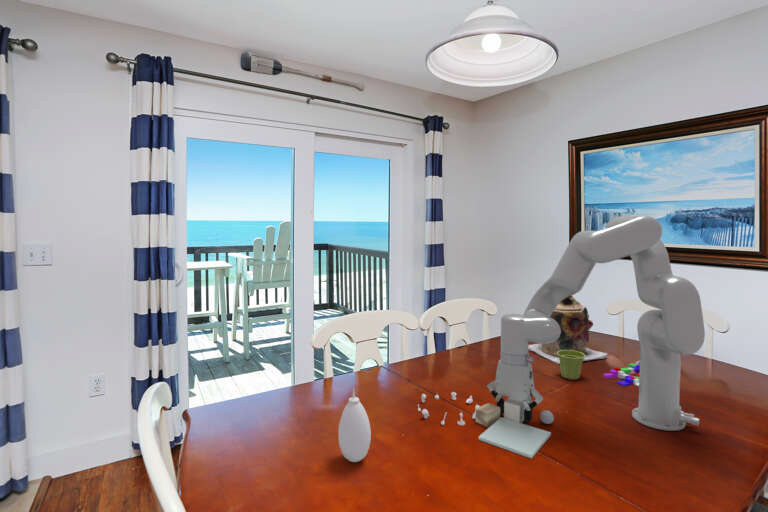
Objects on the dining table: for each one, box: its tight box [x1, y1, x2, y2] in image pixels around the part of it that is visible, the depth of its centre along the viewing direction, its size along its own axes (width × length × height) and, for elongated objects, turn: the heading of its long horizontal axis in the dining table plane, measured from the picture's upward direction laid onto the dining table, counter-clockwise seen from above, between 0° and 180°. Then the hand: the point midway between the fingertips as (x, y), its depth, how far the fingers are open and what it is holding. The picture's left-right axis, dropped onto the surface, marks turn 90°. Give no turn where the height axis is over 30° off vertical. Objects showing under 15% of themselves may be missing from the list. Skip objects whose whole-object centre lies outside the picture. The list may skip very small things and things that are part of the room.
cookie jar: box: [528, 295, 608, 365], centre depth 175 cm, size 25×25×32 cm
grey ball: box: [539, 409, 555, 425], centre depth 115 cm, size 4×4×4 cm
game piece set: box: [417, 391, 481, 426], centre depth 124 cm, size 19×20×4 cm
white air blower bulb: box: [337, 387, 372, 463], centre depth 98 cm, size 8×8×18 cm
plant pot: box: [557, 350, 585, 380], centre depth 149 cm, size 9×9×9 cm
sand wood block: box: [475, 402, 501, 428], centre depth 117 cm, size 4×6×4 cm, turn 128°
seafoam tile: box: [478, 416, 552, 459], centre depth 108 cm, size 14×14×1 cm
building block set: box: [602, 360, 640, 388], centre depth 147 cm, size 25×20×4 cm
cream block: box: [503, 397, 525, 424], centre depth 117 cm, size 4×4×6 cm
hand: (513, 417), depth 117 cm, fingers open, 7 cm apart
